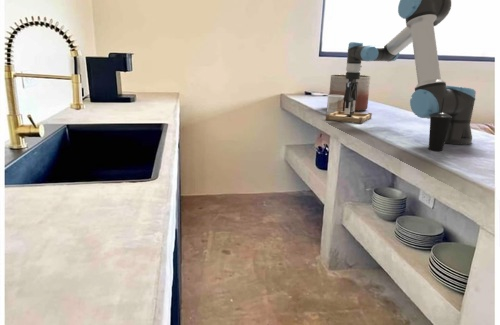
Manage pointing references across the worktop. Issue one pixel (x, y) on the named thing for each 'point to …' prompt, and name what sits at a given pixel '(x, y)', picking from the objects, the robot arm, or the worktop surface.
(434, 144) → the drinking cup
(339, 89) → the planter
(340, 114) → the golden square tray
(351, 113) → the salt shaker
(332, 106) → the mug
